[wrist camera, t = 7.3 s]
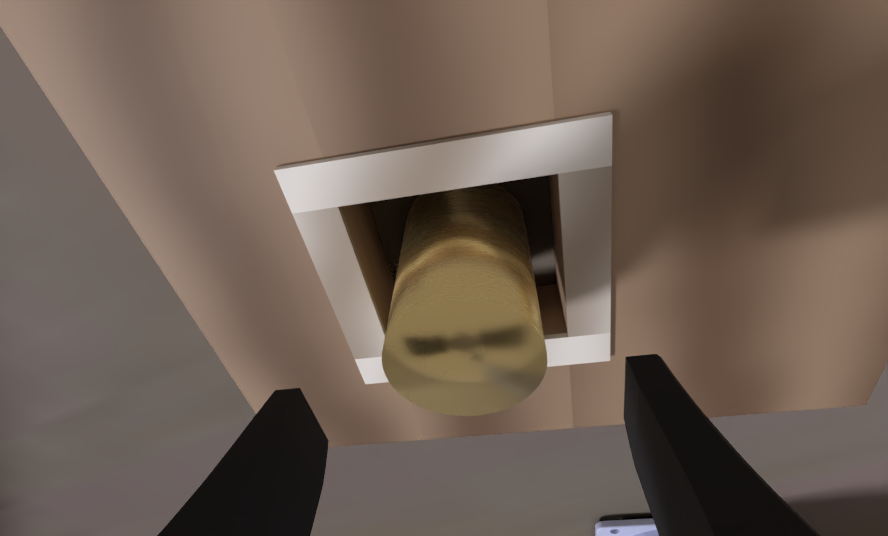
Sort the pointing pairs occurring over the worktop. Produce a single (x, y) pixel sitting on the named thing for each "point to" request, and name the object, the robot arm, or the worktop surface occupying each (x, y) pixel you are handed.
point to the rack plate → (493, 161)
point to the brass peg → (465, 305)
